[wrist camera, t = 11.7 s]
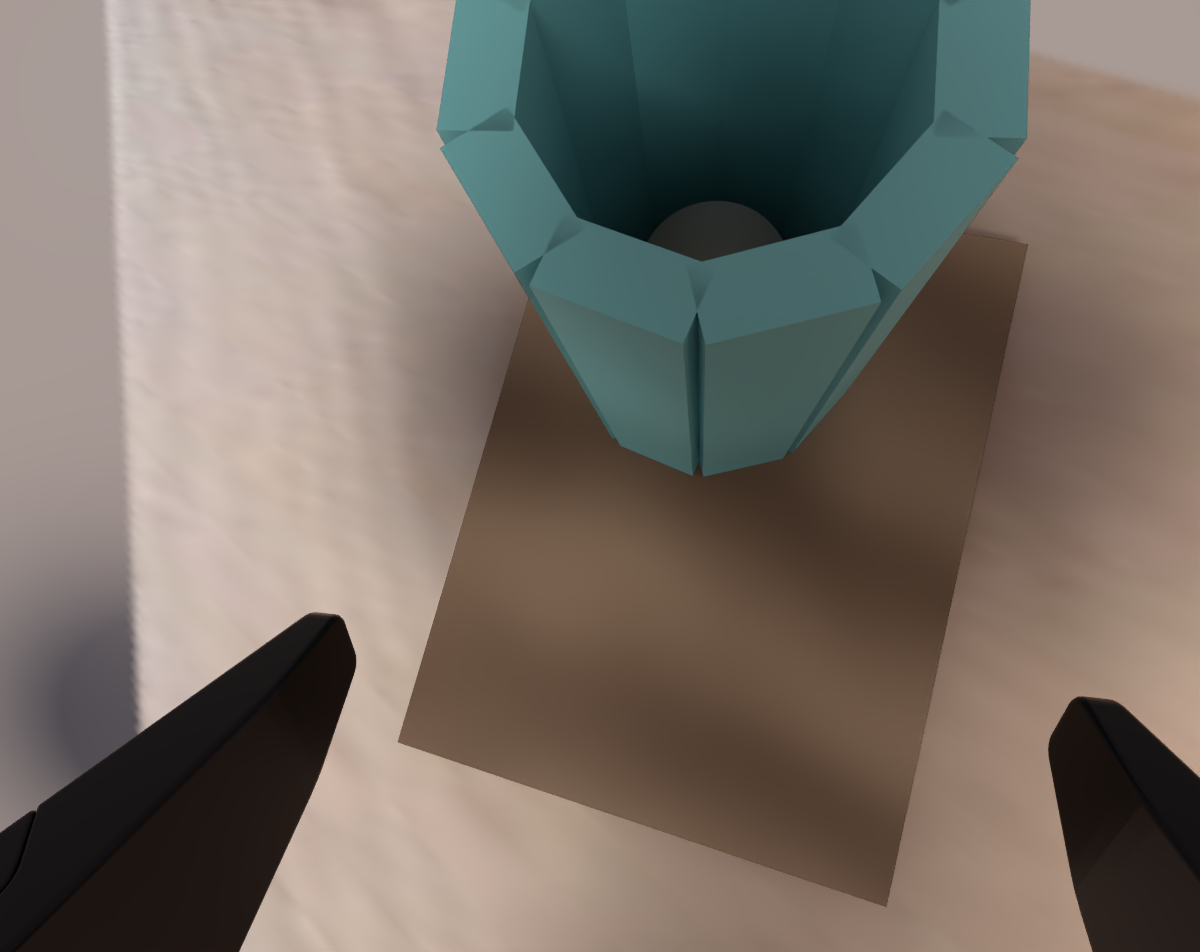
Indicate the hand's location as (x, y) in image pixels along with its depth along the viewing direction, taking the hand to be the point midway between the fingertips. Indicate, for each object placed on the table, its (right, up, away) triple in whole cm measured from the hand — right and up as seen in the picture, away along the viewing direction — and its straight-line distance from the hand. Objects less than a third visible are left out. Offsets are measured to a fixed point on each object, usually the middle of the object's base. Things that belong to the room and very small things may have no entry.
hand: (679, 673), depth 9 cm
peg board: (+2, +2, +10) cm, 10 cm away
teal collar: (+2, +6, +10) cm, 11 cm away
